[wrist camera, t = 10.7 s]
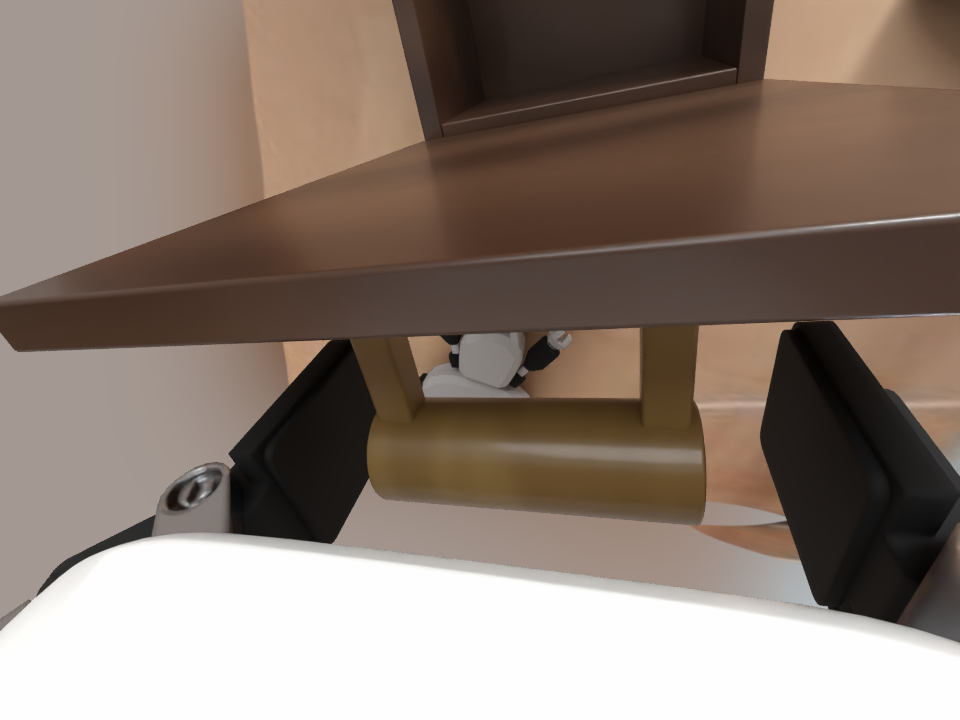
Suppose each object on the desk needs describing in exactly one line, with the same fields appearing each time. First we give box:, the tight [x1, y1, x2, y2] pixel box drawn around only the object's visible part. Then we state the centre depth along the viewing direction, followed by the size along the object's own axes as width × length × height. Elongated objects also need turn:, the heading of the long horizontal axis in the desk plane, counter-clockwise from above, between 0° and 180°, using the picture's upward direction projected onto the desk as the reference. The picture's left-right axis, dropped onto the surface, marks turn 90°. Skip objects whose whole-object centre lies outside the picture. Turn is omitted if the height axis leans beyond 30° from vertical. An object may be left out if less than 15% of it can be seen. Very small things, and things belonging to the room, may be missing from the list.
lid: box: [0, 79, 960, 526], centre depth 13 cm, size 18×14×5 cm
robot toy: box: [419, 331, 572, 398], centre depth 39 cm, size 12×4×15 cm
